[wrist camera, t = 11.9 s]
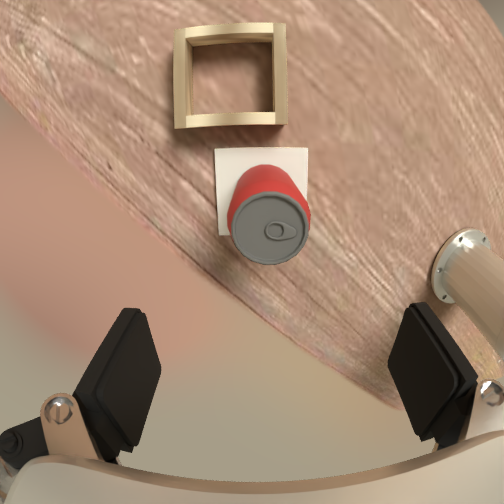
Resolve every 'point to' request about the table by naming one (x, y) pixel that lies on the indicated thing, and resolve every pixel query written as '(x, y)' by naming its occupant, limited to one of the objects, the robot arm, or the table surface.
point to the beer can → (268, 216)
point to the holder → (222, 35)
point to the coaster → (243, 158)
